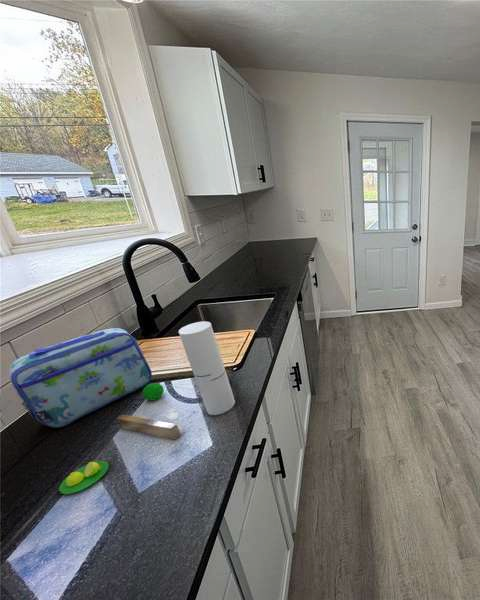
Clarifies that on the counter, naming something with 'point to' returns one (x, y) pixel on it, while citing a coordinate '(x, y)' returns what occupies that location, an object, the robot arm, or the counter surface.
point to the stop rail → (149, 426)
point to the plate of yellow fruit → (83, 477)
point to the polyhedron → (153, 391)
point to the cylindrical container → (207, 367)
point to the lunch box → (79, 376)
